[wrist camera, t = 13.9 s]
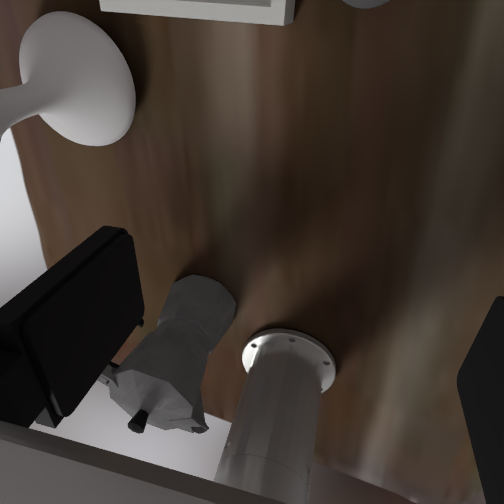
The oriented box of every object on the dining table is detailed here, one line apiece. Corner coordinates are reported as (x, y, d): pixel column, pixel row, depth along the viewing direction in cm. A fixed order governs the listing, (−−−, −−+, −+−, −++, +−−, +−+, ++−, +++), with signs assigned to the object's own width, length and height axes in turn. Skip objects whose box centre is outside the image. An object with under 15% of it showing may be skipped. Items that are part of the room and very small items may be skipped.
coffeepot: (264, 310, 46) (218, 450, 32) (227, 345, 52) (174, 478, 38) (160, 239, 44) (60, 356, 30) (133, 284, 50) (39, 400, 35)
